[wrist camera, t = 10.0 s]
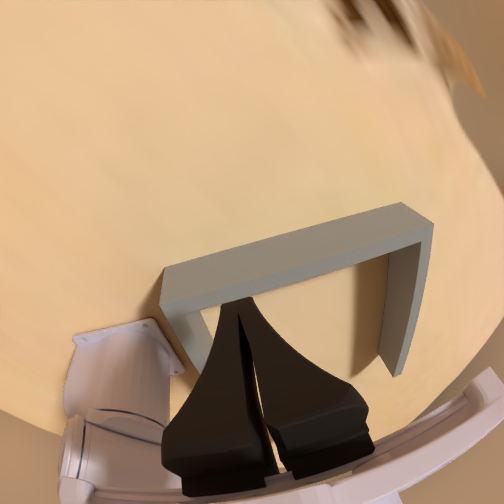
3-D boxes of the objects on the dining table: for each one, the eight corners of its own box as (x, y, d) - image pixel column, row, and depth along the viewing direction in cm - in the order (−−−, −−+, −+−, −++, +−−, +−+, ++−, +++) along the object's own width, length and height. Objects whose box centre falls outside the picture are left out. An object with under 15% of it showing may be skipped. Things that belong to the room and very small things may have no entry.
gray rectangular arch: (232, 399, 32) (237, 429, 28) (164, 267, 21) (159, 305, 17) (385, 348, 32) (401, 373, 28) (400, 202, 22) (433, 223, 18)
